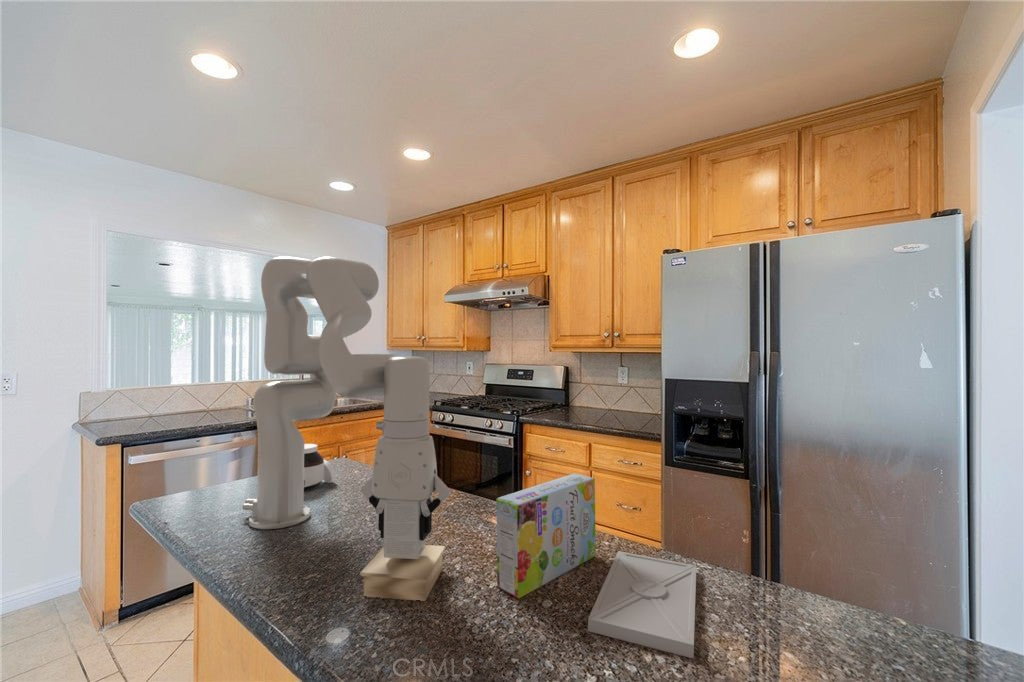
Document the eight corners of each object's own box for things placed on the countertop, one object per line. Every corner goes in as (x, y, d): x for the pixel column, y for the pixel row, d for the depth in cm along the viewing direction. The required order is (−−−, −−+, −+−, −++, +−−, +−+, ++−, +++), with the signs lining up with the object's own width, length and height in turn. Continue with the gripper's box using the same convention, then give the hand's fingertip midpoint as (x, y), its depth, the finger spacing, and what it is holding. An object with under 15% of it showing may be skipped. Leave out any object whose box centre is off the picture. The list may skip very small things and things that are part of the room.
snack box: (573, 547, 89) (573, 471, 89) (597, 557, 85) (597, 477, 85) (494, 587, 74) (495, 495, 74) (518, 601, 70) (519, 504, 70)
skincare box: (425, 548, 77) (426, 479, 77) (418, 560, 73) (419, 486, 73) (391, 546, 78) (392, 477, 78) (382, 558, 74) (383, 485, 74)
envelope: (696, 576, 79) (618, 561, 84) (696, 564, 79) (618, 549, 85) (693, 660, 57) (587, 632, 62) (693, 643, 57) (588, 616, 63)
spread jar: (278, 491, 122) (278, 448, 123) (303, 479, 134) (304, 440, 134) (318, 493, 120) (318, 450, 121) (340, 481, 132) (341, 441, 132)
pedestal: (360, 597, 70) (360, 572, 70) (387, 564, 81) (387, 542, 81) (426, 602, 69) (426, 576, 69) (445, 568, 80) (445, 546, 80)
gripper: (347, 431, 73) (345, 542, 73) (450, 435, 71) (449, 549, 71) (367, 423, 80) (365, 524, 80) (461, 426, 78) (460, 530, 78)
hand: (405, 534), depth 75 cm, fingers closed on skincare box, 6 cm apart
